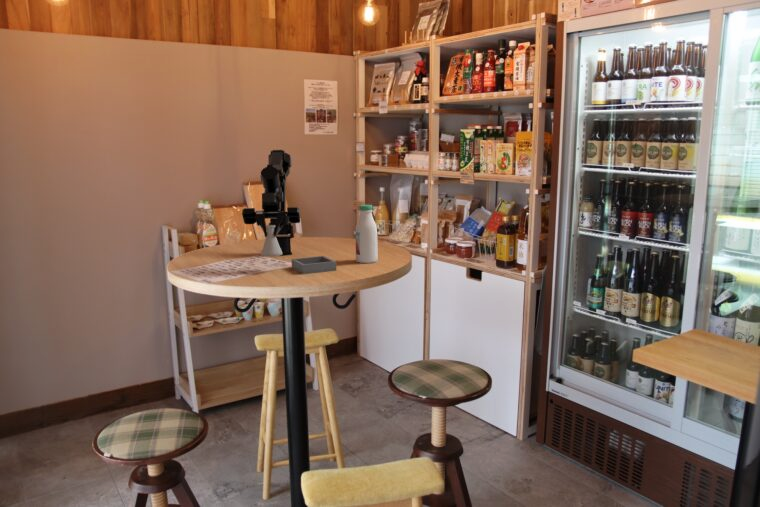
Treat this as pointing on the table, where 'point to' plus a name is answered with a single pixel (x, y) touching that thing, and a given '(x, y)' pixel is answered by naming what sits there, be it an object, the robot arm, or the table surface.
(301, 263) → the box
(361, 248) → the milk bottle
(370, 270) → the table surface
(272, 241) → the flask
